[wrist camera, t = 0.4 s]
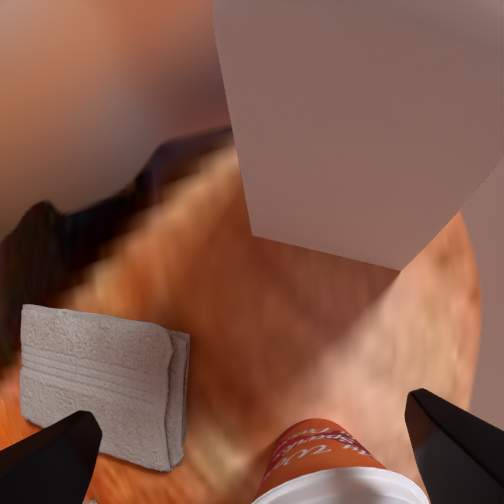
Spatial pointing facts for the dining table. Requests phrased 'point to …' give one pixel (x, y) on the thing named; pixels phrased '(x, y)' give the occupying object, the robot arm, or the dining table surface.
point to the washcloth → (108, 380)
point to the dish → (90, 502)
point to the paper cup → (330, 471)
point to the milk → (362, 117)
